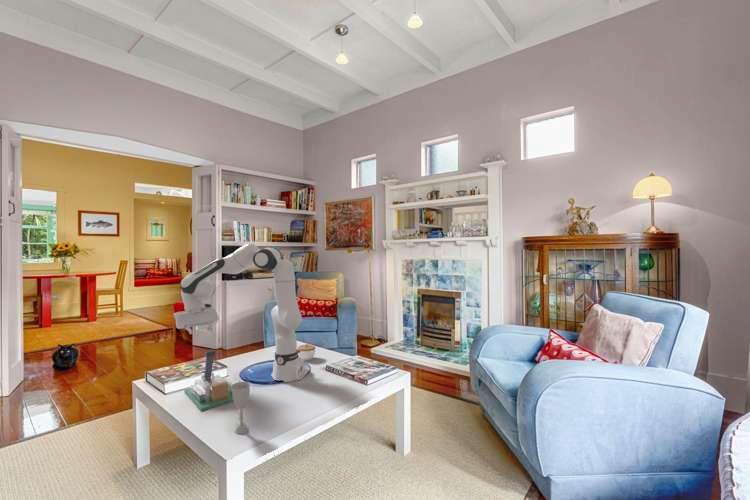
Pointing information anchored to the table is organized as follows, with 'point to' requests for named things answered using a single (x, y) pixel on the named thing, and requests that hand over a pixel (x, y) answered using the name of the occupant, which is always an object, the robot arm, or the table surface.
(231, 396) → the circuit board
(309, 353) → the lidded jar
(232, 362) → the table surface
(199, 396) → the heat sink
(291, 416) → the table surface
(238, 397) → the chalice
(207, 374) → the dark grey bar
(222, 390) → the brown square block
